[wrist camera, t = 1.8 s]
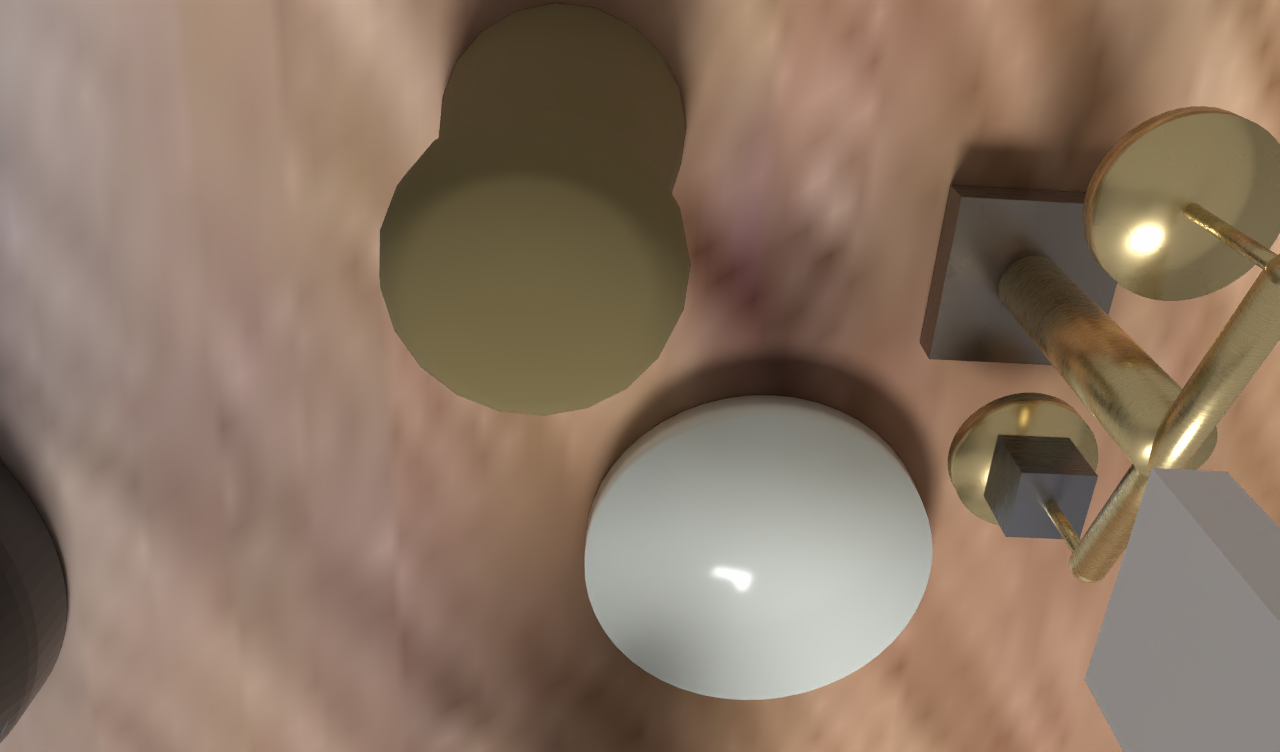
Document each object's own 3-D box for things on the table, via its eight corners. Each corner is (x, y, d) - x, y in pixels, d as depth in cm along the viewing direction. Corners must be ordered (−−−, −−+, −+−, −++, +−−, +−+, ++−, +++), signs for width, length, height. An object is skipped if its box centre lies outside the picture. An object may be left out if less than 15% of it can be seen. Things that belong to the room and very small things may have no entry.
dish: (579, 667, 34) (578, 694, 33) (592, 386, 30) (591, 407, 29) (892, 678, 34) (900, 705, 33) (951, 403, 30) (962, 424, 29)
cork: (398, 56, 26) (258, 192, 16) (636, -36, 25) (645, 46, 15) (499, 279, 28) (432, 515, 18) (718, 201, 27) (771, 406, 18)
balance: (897, 456, 31) (1026, 748, 21) (979, 38, 26) (1201, 163, 16) (1048, 463, 31) (1247, 755, 21) (1160, 49, 26) (1491, 180, 16)
